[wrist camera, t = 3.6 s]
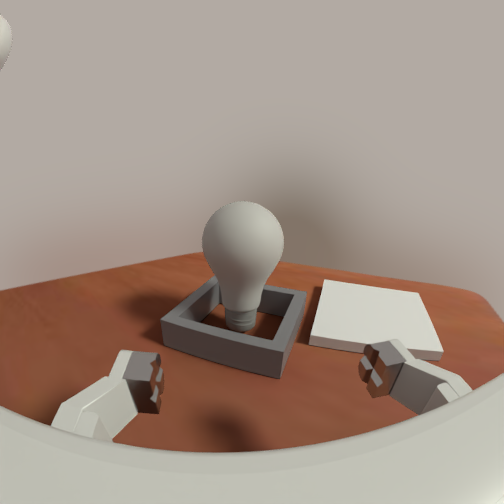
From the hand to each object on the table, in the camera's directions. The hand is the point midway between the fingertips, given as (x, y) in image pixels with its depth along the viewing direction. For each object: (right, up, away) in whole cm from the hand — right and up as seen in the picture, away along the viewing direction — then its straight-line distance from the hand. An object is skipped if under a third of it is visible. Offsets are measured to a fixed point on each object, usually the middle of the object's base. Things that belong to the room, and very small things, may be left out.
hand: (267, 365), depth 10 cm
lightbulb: (-2, -3, +14) cm, 14 cm away
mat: (+12, -2, +15) cm, 19 cm away
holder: (-2, -2, +14) cm, 14 cm away
